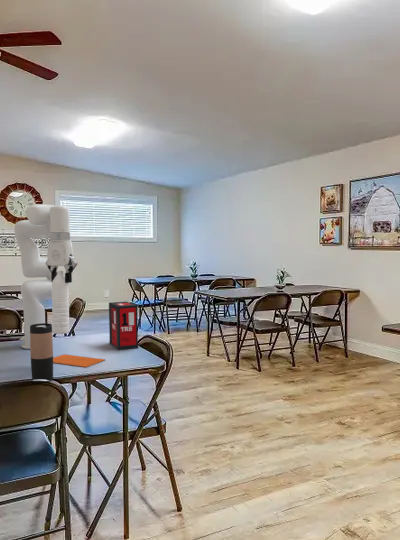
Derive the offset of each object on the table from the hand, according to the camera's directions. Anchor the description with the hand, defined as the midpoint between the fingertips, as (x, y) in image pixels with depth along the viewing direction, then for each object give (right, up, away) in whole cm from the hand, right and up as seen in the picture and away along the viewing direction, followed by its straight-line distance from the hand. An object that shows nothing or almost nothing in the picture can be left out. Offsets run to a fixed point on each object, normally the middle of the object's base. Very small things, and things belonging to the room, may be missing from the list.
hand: (61, 281), depth 187 cm
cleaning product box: (+19, -31, +36) cm, 51 cm away
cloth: (+3, -33, +8) cm, 34 cm away
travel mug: (-1, -35, -19) cm, 40 cm away
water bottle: (0, -21, +1) cm, 21 cm away
